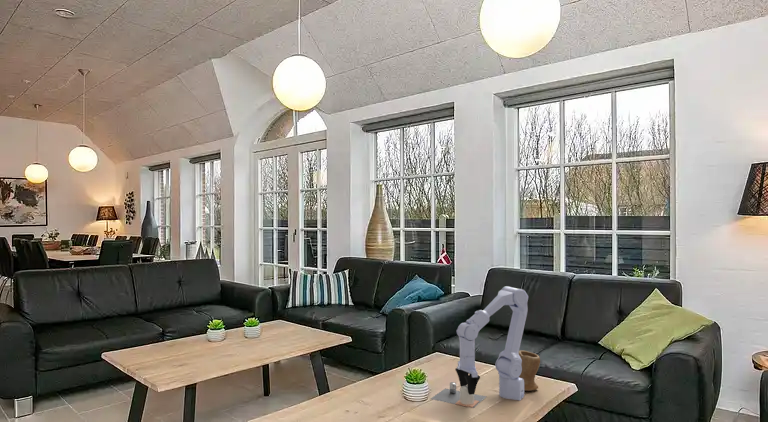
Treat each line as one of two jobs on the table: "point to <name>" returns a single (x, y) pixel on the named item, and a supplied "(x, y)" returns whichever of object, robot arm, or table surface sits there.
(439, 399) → the base board
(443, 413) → the table surface
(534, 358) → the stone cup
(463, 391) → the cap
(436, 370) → the table surface
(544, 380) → the table surface
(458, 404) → the terracotta pad
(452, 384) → the metal post
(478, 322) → the robot arm
